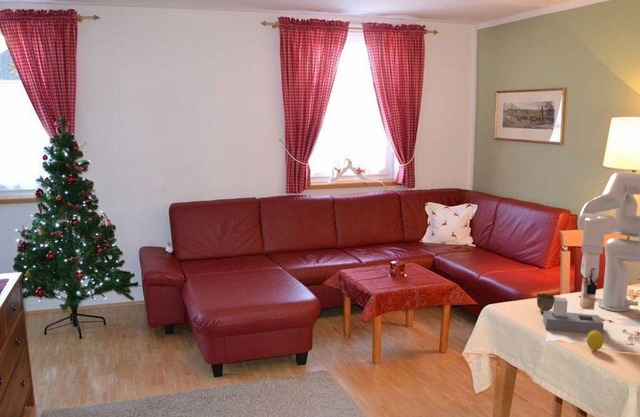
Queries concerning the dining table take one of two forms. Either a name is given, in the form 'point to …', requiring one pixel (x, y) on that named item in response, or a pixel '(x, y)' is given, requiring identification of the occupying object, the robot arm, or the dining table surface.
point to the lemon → (595, 340)
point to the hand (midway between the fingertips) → (588, 290)
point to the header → (573, 322)
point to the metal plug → (560, 307)
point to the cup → (545, 301)
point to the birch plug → (586, 296)
